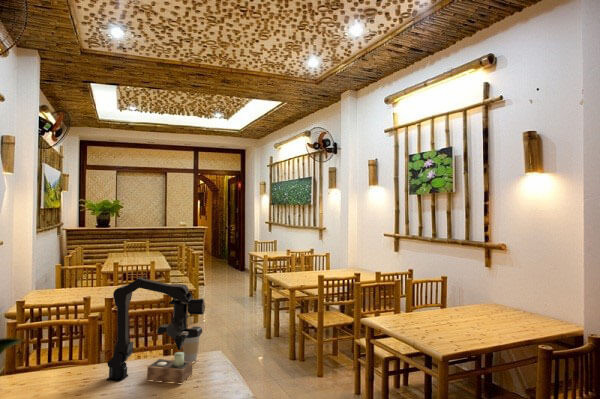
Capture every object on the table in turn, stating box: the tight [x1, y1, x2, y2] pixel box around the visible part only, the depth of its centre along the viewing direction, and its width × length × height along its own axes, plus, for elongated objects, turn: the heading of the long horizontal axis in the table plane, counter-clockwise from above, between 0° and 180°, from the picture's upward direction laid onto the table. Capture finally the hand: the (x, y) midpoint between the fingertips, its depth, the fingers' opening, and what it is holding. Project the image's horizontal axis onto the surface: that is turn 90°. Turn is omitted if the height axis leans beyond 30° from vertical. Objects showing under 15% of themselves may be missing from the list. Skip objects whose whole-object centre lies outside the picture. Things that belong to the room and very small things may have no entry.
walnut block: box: [146, 358, 193, 384], centre depth 180 cm, size 16×10×6 cm, turn 80°
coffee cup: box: [182, 333, 202, 362], centre depth 199 cm, size 9×9×15 cm
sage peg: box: [173, 351, 184, 367], centre depth 179 cm, size 4×4×6 cm
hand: (179, 350), depth 179 cm, fingers closed
